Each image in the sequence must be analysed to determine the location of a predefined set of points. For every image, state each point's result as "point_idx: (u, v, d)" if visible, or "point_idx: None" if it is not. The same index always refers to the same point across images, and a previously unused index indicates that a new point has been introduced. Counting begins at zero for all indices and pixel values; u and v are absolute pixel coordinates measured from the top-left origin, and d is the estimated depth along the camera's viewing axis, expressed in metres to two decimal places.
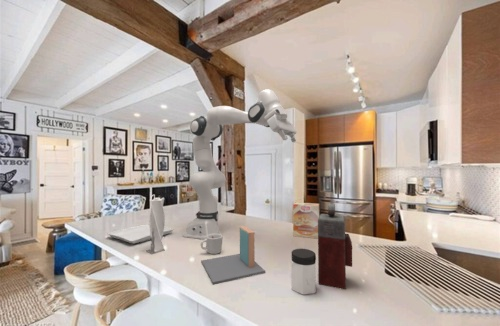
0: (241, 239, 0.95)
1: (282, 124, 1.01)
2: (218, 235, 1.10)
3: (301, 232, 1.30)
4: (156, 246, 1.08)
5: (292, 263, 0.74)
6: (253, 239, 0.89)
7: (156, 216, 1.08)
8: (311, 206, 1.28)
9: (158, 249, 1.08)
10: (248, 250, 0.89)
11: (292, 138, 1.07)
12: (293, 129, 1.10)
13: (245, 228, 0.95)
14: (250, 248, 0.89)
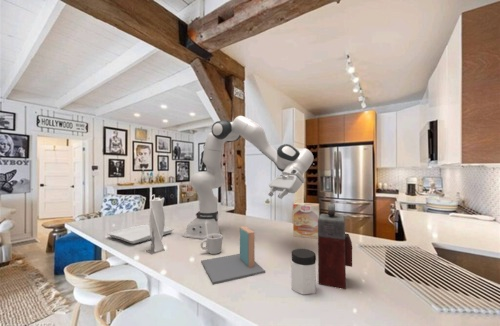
0: (241, 239, 0.95)
1: None
2: (218, 235, 1.10)
3: (301, 232, 1.30)
4: (156, 246, 1.08)
5: (292, 263, 0.74)
6: (253, 239, 0.89)
7: (156, 216, 1.08)
8: (311, 206, 1.28)
9: (158, 249, 1.08)
10: (248, 250, 0.89)
11: (272, 193, 1.07)
12: None
13: (245, 228, 0.95)
14: (250, 248, 0.89)
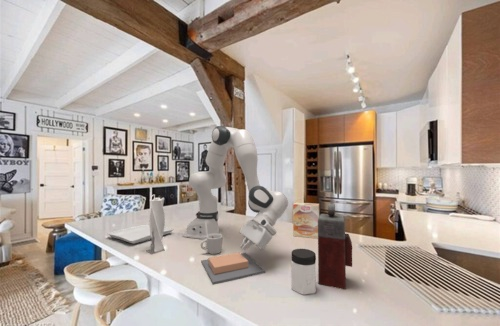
0: None
1: None
2: (218, 235, 1.10)
3: (301, 232, 1.30)
4: (156, 246, 1.08)
5: (292, 263, 0.74)
6: (221, 267, 0.84)
7: (156, 216, 1.08)
8: (311, 206, 1.28)
9: (158, 249, 1.08)
10: None
11: None
12: None
13: (210, 263, 0.89)
14: (230, 269, 0.85)
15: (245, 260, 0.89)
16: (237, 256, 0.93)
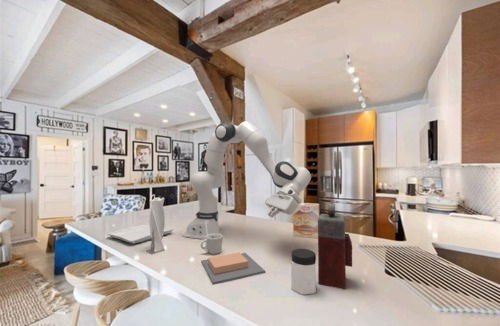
0: None
1: None
2: (218, 235, 1.10)
3: (301, 232, 1.30)
4: (156, 246, 1.08)
5: (292, 263, 0.74)
6: (221, 267, 0.84)
7: (156, 216, 1.08)
8: (311, 206, 1.28)
9: (158, 249, 1.08)
10: None
11: None
12: None
13: (210, 263, 0.89)
14: (230, 269, 0.85)
15: (245, 260, 0.89)
16: (237, 256, 0.93)
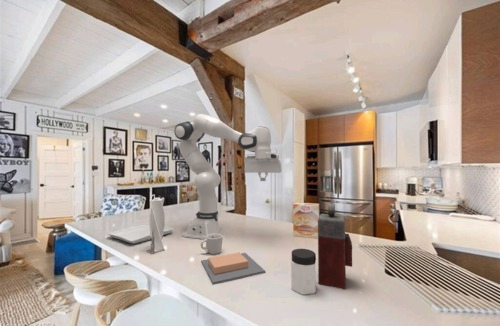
0: None
1: None
2: (218, 235, 1.10)
3: (301, 232, 1.30)
4: (156, 246, 1.08)
5: (292, 263, 0.74)
6: (221, 267, 0.84)
7: (156, 216, 1.08)
8: (311, 206, 1.28)
9: (158, 249, 1.08)
10: None
11: None
12: None
13: (210, 263, 0.89)
14: (230, 269, 0.85)
15: (245, 260, 0.89)
16: (237, 256, 0.93)
